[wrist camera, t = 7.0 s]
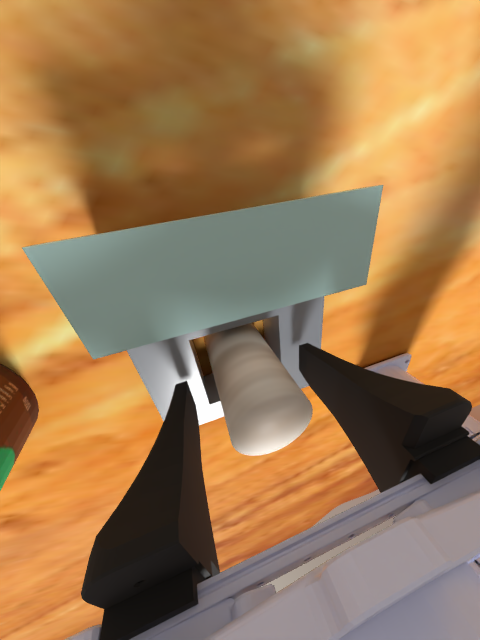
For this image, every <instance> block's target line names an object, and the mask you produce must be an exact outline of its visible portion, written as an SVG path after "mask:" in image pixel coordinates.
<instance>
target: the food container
mask: <svg viewBox="0 0 480 640" xmlns="http://www.w3.org/2000/svg"><path fill="white" fill-rule="evenodd" d="M38 412H39V409H38V402H37V399H36V397H35V394H34V393H33V391H32V390H31V388H30V387H29V385H28V384H27V383H26V382H25V381H24V380H23V379H22V378H21V377H19V376H18V375H17V374H16V373H14V372H13V371H12V370H10V369H9V368H7V367H5V366H4V365H2V364H0V490H1V488H2V487H3V485H4V483H5V481H6V479H7V477H8V475H9V473H10V471H11V469H12V467H13V465H14V463H15V461H16V459H17V457H18V456H19V454H20V452H21V450H22V448H23V446H24V444H25V442H26V440H27V438H28V436H29V434H30V432H31V430H32V428H33V426H34V424H35V422H36V420H37V418H38Z"/></svg>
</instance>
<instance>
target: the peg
mask: <svg viewBox="0 0 480 640" xmlns="http://www.w3.org/2000/svg"><path fill="white" fill-rule="evenodd" d="M204 341H205V345H206V349H207V353H208V357H209V360H210V364H211V368H212V372H213V375H214V379H215V383H216V386H217V390H218V394H219V398H220V401H221V405H222V409H223V413H224V416H225V420H226V424H227V428H228V431H229V435H230V439H231V442H232V445H233V447H234V448H235V449H236V450H237V451H238V452H240V453H242V454H245V455H263V454H268V453H271V452H274V451H276V450H279V449H281V448H283V447H285V446H286V445H288V444H289V443H291V442H292V441H294V440H295V439H296V438H297V437H298V436H299V435H300V434H301V433H302V432H303V431H304V430H305V429H306V427H307V426H308V424H309V422H310V420H311V417H312V405H311V403H310V401H309V400H308V399H307V397H306V396H305V394H304V393H303V392H302V390H301V389H300V388H299V386H298V385H297V384H296V382H295V381H294V379H293V378H292V377H291V375H290V374H289V373H288V371H287V370H286V368H285V367H284V366H283V364H282V363H281V362H280V360H279V359H278V358H277V356H276V355H275V353H274V352H273V351H272V349H271V348H270V347H269V345H268V344H267V343H266V341H265V340H264V338H263V337H262V336H261V334H260V333H259V332H258V330H257V329H256V327H255V326H254V325H253V323H249V324H245V325H242V326H238V327H235V328H231V329H227V330H224V331H220V332H217V333H213V334H210V335H206V336H204Z"/></svg>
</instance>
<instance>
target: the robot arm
mask: <svg viewBox="0 0 480 640" xmlns="http://www.w3.org/2000/svg"><path fill="white" fill-rule="evenodd" d="M410 359H411V354H409V353H405V354H402V355H399V356H397V357H394V358H391V359H388V360H385V361H383V362H380V363H377V364H374V365H372V366H369V367H366V368H362V367H359V366H357V365H354V364H352V363H349V362H347V361H345V360H342V359H340V358H338V357H336V356H334V355H332V354H329V353H327V352H325V351H323V350H321V349H319V348H317V347H315V346H313V345H311V344H309V343H305V344H302V345H299V370H300V372H301V374H302V375H303V377H304V379H305V380H306V382H307V383H308V384H309V386H310V387H311V388H312V389H313V391H314V392H315V393H316V394H317V396H318V397H319V398H320V399H321V400H322V402H323V403H324V404H325V405H326V407H327V408H328V409H329V410H330V411H331V413H332V414H333V415H334V417H335V418H336V420H337V421H338V423H339V424H340V426H341V427H342V429H343V430H344V432H345V433H346V435H347V436H348V438H349V439H350V441H351V443H352V444H353V446H354V447H355V449H356V451H357V452H358V454H359V456H360V457H361V459H362V461H363V462H364V464H365V466H366V467H367V469H368V471H369V473H370V474H371V476H372V478H373V480H374V482H375V483H376V485H377V487H378V489H379V491H380V492H381V493H380V494H378V495H376V496H374V497H372V498H370V499H368V500H366V501H364V502H362V503H360V504H358V505H356V506H354V507H352V508H350V509H348V510H346V511H344V512H342V513H340V514H338V515H336V516H334V517H332V518H330V519H328V520H326V521H324V522H322V523H320V524H318V525H316V526H314V527H312V528H310V529H308V530H306V531H303V532H301V533H299V534H297V535H295V536H293V537H291V538H289V539H287V540H285V541H283V542H281V543H279V544H277V545H275V546H273V547H271V548H269V549H267V550H265V551H263V552H261V553H259V554H257V555H255V556H253V557H251V558H249V559H247V560H245V561H243V562H241V563H239V564H237V565H235V566H233V567H231V568H229V569H227V570H225V571H223V572H221V573H220V570H219V565H218V560H217V554H216V549H215V543H214V538H213V532H212V527H211V521H210V515H209V509H208V503H207V497H206V491H205V485H204V478H203V472H202V463H201V449H200V434H199V420H198V415H197V409H196V404H195V401H194V398H193V396H192V393H191V390H190V388H189V385H188V382H187V381H184V382H181V383H178V384H176V385H175V388H174V392H173V396H172V399H171V403H170V406H169V409H168V412H167V414H166V417H165V420H164V422H163V425H162V427H161V430H160V432H159V435H158V437H157V439H156V441H155V443H154V446H153V448H152V450H151V452H150V454H149V455H148V457H147V459H146V461H145V463H144V465H143V466H142V468H141V470H140V472H139V474H138V475H137V477H136V479H135V480H134V482H133V483H132V485H131V487H130V488H129V490H128V491H127V493H126V494H125V496H124V498H123V499H122V501H121V502H120V504H119V505H118V507H117V508H116V509H115V511H114V512H113V514H112V515H111V516H110V518H109V519H108V521H107V522H106V523H105V525H104V526H103V528H102V529H101V531H100V532H99V533H98V535H97V536H96V538H95V542H94V545H93V548H92V551H91V554H90V558H89V561H88V566H87V570H86V574H85V579H84V583H83V587H82V591H81V596H82V599H83V600H84V601H86V602H87V603H89V604H92V605H95V606H97V607H100V608H103V609H104V615H103V621H102V625H96V626H92V627H90V628H87V629H85V630H83V631H81V632H79V633H77V634H75V635H73V636H71V637H69V638H67V639H65V640H480V422H479V421H477V420H476V419H474V418H473V417H472V416H470V415H469V413H470V411H471V409H472V405H471V402H470V401H468V400H467V399H465V398H463V397H462V396H460V395H459V394H457V393H456V392H454V391H453V390H451V389H448V388H442V387H436V386H430V385H425V384H423V383H422V382H420V381H419V380H418V379H416V378H415V377H413V376H412V375H410V374H409V373H407V372H406V371H407V368H408V365H409V362H410ZM396 515H397V516H396ZM394 516H396V517H394ZM392 517H394V518H393V524H392V525H390V526H388V527H387V528H385V529H383V530H381V531H379V532H377V533H375V534H374V535H372V536H370V537H368V538H366V539H364V540H362V541H360V542H359V543H357V544H355V545H353V546H351V547H349V548H347V549H346V550H344V551H342V552H341V553H339V554H338V555H336V556H334V557H332V558H331V559H329V560H328V561H326V562H324V563H323V564H321V565H320V566H318V567H316V568H315V569H313V570H312V571H310V572H308V573H307V574H305V575H304V576H302V577H301V578H299V579H298V580H296V581H294V582H293V583H291V584H290V585H288V586H287V587H285V588H283V589H282V590H280V591H279V592H277V593H276V591H275V587H274V585H272V584H269V585H266V586H263V585H265V584H267V583H269V582H271V581H273V580H275V579H277V578H278V577H280V576H282V575H284V574H286V573H288V572H290V571H292V570H294V569H296V568H297V567H299V566H301V565H303V564H305V563H307V562H309V561H311V560H312V559H314V558H316V557H318V556H320V555H322V554H324V553H326V552H328V551H330V550H332V549H333V548H335V547H337V546H339V545H341V544H343V543H345V542H347V541H349V540H351V539H352V538H354V537H356V536H358V535H360V534H362V533H364V532H366V531H368V530H369V529H371V528H373V527H375V526H377V525H379V524H381V523H383V522H385V521H386V520H388V519H390V518H392ZM261 586H263V587H261Z"/></svg>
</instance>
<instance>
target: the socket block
mask: <svg viewBox="0 0 480 640" xmlns="http://www.w3.org/2000/svg"><path fill="white" fill-rule="evenodd" d="M382 189H383V185H379V186H371V187H365V188H359V189H353V190H348V191H342V192H336V193H330V194H325V195H319V196H313V197H307V198H302V199H296V200H290V201H284V202H279V203H273V204H267V205H261V206H255V207H250V208H244V209H238V210H232V211H227V212H221V213H215V214H209V215H204V216H198V217H192V218H186V219H181V220H175V221H169V222H163V223H157V224H152V225H146V226H140V227H134V228H129V229H123V230H117V231H111V232H106V233H100V234H94V235H88V236H83V237H77V238H71V239H65V240H59V241H54V242H48V243H42V244H36V245H31V246H27V247H23V248H22V249H23V250H24V252H25V253H26V255H27V257H28V258H29V260H30V261H31V263H32V264H33V266H34V267H35V269H36V271H37V272H38V274H39V275H40V277H41V278H42V280H43V282H44V283H45V285H46V286H47V288H48V289H49V291H50V292H51V294H52V296H53V297H54V299H55V300H56V302H57V303H58V305H59V307H60V308H61V310H62V311H63V313H64V314H65V316H66V317H67V319H68V321H69V322H70V324H71V325H72V327H73V328H74V330H75V332H76V333H77V335H78V336H79V338H80V339H81V341H82V342H83V344H84V346H85V347H86V349H87V350H88V352H89V353H90V355H91V357H92V358H93V359H97V358H100V357H104V356H108V355H111V354H115V353H118V352H122V351H126V350H127V352H128V354H129V356H130V358H131V359H132V361H133V363H134V365H135V367H136V369H137V371H138V373H139V375H140V377H141V379H142V381H143V382H144V384H145V386H146V388H147V390H148V392H149V394H150V396H151V398H152V400H153V402H154V404H155V406H156V407H157V409H158V411H159V413H160V415H161V417H162V419H163V421H164V420H165V417H166V414H167V412H168V409H169V406H170V403H171V399H172V396H173V392H174V388H175V385H176V384H178V383H181V382H184V381H187V382H188V385H189V388H190V390H191V393H192V396H193V398H194V401H195V404H196V409H197V415H198V420H199V425H201V424H204V423H207V422H209V421H212V420H215V419H218V418H221V417H223V416H224V413H223V409H222V405H221V401H220V398H219V394H218V390H217V386H216V383H215V379H214V375H213V373H212V374H208V375H205V376H203V372H202V369H201V366H200V363H199V360H198V356H197V353H196V350H195V347H194V344H193V340H192V339H195V338H199V337H202V336H206V335H210V334H213V333H217V332H220V331H224V330H227V329H231V328H235V327H238V326H242V325H245V324H249V323H252V322H256V321H259V320H263V326H264V336H265V341H266V343H267V344H268V345H269V347H270V348H271V349H272V351H273V352H274V353H275V355H276V356H277V358H278V359H279V360H280V362H281V363H282V364H283V366H284V367H285V368H286V370H287V371H288V373H289V374H290V375H291V377H292V378H293V379H294V381H295V382H296V384H297V385H298V386H299V388H300V389H301V388H304V387H307V386H309V384H308V383H307V382H306V380H305V379H304V377H303V375H302V374H301V372H300V370H299V345H302V344H305V343H309V344H311V345H313V346H315V347H317V348H319V349H321V338H322V322H323V307H324V296H326V295H330V294H333V293H337V292H341V291H344V290H348V289H352V288H355V287H359V286H363V285H366V283H367V277H368V271H369V265H370V259H371V254H372V248H373V242H374V236H375V230H376V224H377V218H378V212H379V206H380V201H381V195H382Z"/></svg>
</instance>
